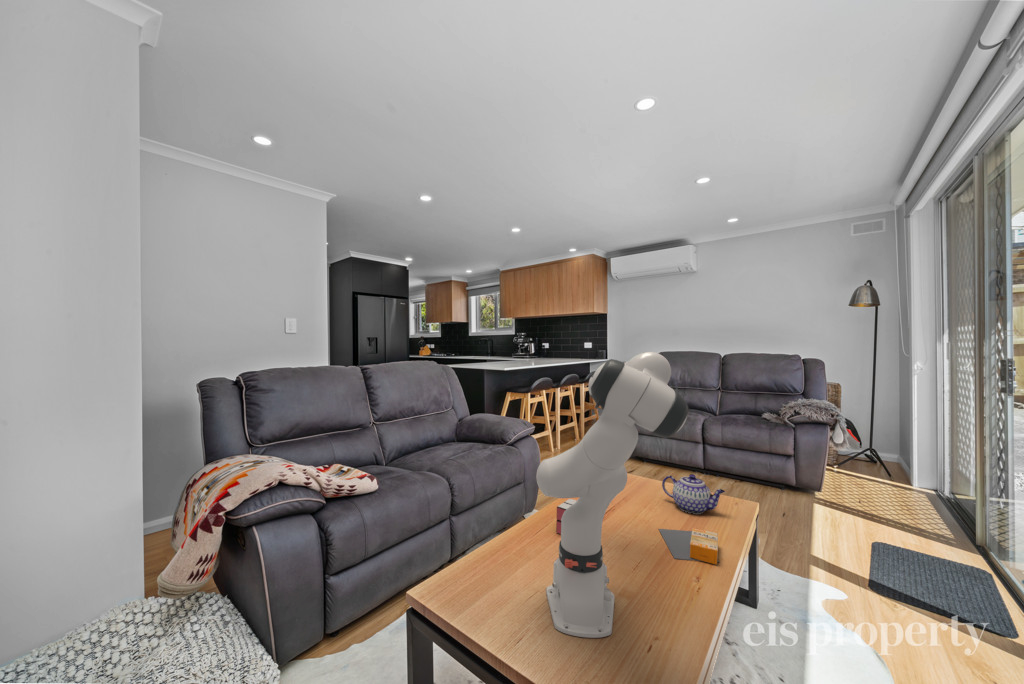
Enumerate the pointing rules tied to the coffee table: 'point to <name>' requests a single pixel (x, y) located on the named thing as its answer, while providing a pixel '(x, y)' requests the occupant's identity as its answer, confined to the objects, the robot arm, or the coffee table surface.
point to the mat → (678, 543)
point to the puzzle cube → (560, 512)
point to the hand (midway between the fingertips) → (623, 446)
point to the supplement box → (704, 546)
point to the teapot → (692, 494)
